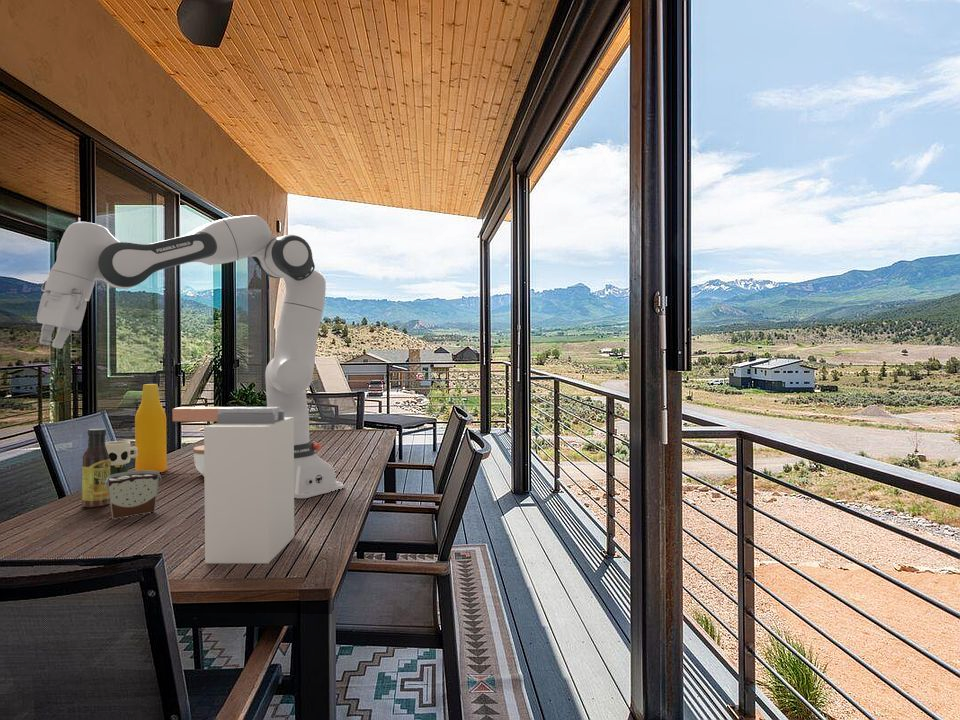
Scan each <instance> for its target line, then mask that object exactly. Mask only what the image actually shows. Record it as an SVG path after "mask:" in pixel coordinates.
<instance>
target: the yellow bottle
mask: <svg viewBox="0 0 960 720" xmlns="http://www.w3.org/2000/svg"><path fill="white" fill-rule="evenodd" d="M158 385H159V384H158V383H147V384H143V385H142V386H143V387H142V394H141V402H140V405H139V407H138V409H137V411H136V413H135V417H134V429H135V430H134V431H135V433H134V434H135V435H134V438H135V439H134V440H135V443H134V447H137V448H138V456H137V457H136V458H134V459H135V463H134V464H135V467H134V468H135V470H134V471H158V472H159V474H160V472H161V473H164V472H166V471H167V468H168V457H167V455H168V454H167V452H168V451H167V445H168V444H167V414H166V411H165V409H164V407H163V406H162V403H161V401H160V400H161V399H160V392H159V386H158Z"/></svg>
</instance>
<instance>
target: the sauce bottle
mask: <svg viewBox="0 0 960 720" xmlns="http://www.w3.org/2000/svg"><path fill="white" fill-rule="evenodd" d="M106 434H107V429H106V428H90V429H87V436H88V443H87V446H88V447H87V449H86V450H85V452H84V453H83V456H82V466H81V501H82V502H81V506H82V507H83V508H89V509H90V508H91V509H92V508H98V507H103V506H106V505H109V504H110V501H109V493H108V486H107V485H106V488H105V487H104V486H105V481H106V479H107V477H108V476H110V458H109V455H108V452H107V449H106V446H105V443H106Z"/></svg>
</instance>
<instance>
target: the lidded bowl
mask: <svg viewBox="0 0 960 720" xmlns="http://www.w3.org/2000/svg"><path fill="white" fill-rule="evenodd" d="M192 449H193V462H194V466H195V468H196V470H197V471H198V472H199V473H200V474H201V475H202V477H204V444H202V445H197V446H194V447H193V448H192Z"/></svg>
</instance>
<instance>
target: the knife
mask: <svg viewBox="0 0 960 720" xmlns="http://www.w3.org/2000/svg"><path fill="white" fill-rule="evenodd" d="M171 409H172V422H217V414H275V420H278V419H280V407H267V406H179V407H175V408H171Z"/></svg>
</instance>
